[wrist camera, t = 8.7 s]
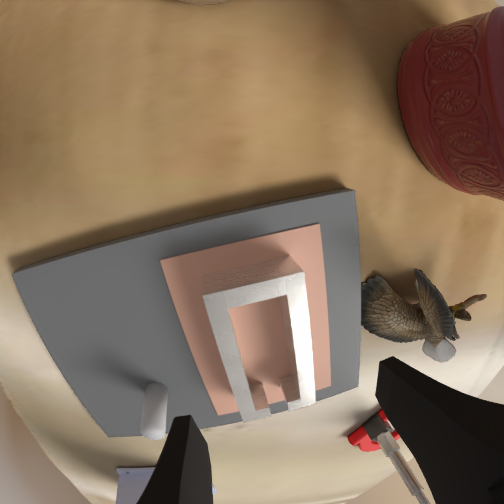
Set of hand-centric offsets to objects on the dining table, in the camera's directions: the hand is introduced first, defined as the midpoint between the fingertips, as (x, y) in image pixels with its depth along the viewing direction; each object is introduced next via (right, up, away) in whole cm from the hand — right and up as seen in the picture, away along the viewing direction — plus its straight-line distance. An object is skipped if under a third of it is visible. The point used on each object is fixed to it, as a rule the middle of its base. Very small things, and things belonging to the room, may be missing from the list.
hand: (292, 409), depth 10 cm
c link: (-1, 0, +8) cm, 9 cm away
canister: (+14, +17, +7) cm, 23 cm away
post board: (-5, 0, +9) cm, 10 cm away
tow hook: (+14, -14, +18) cm, 26 cm away
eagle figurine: (+10, +2, +11) cm, 15 cm away
